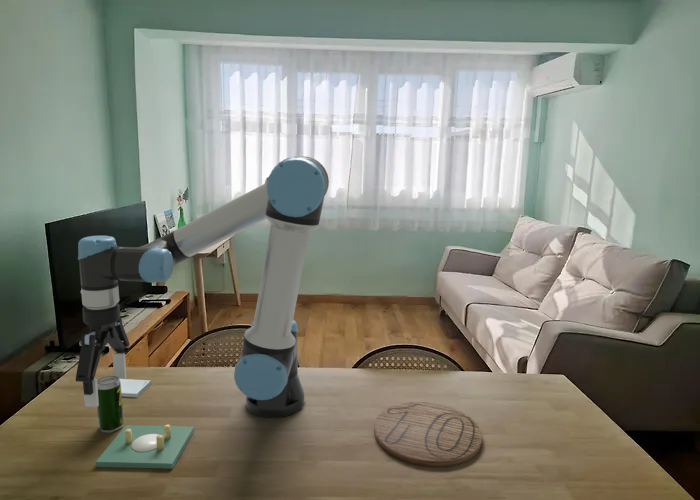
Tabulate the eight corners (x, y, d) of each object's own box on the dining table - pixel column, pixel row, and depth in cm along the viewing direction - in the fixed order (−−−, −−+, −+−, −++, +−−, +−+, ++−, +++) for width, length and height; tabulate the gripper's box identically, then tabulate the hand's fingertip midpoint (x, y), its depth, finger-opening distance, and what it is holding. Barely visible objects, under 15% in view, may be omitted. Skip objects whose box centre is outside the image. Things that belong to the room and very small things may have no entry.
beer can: (100, 435, 115) (96, 387, 113) (97, 425, 119) (93, 378, 117) (125, 429, 118) (122, 382, 116) (121, 418, 122) (118, 373, 120)
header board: (194, 431, 118) (193, 414, 117) (172, 468, 104) (171, 450, 103) (126, 429, 118) (125, 413, 117) (96, 466, 104) (94, 448, 103)
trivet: (360, 453, 111) (360, 445, 110) (390, 401, 134) (390, 394, 133) (475, 480, 102) (475, 472, 102) (486, 419, 126) (486, 413, 125)
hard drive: (151, 379, 141) (109, 377, 142) (137, 393, 133) (92, 390, 134) (152, 385, 141) (109, 382, 142) (137, 399, 133) (93, 396, 134)
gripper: (110, 288, 125) (115, 367, 129) (51, 323, 100) (59, 419, 105) (140, 289, 125) (144, 368, 129) (88, 324, 100) (95, 420, 105)
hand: (106, 391), depth 117 cm, fingers open, 13 cm apart
